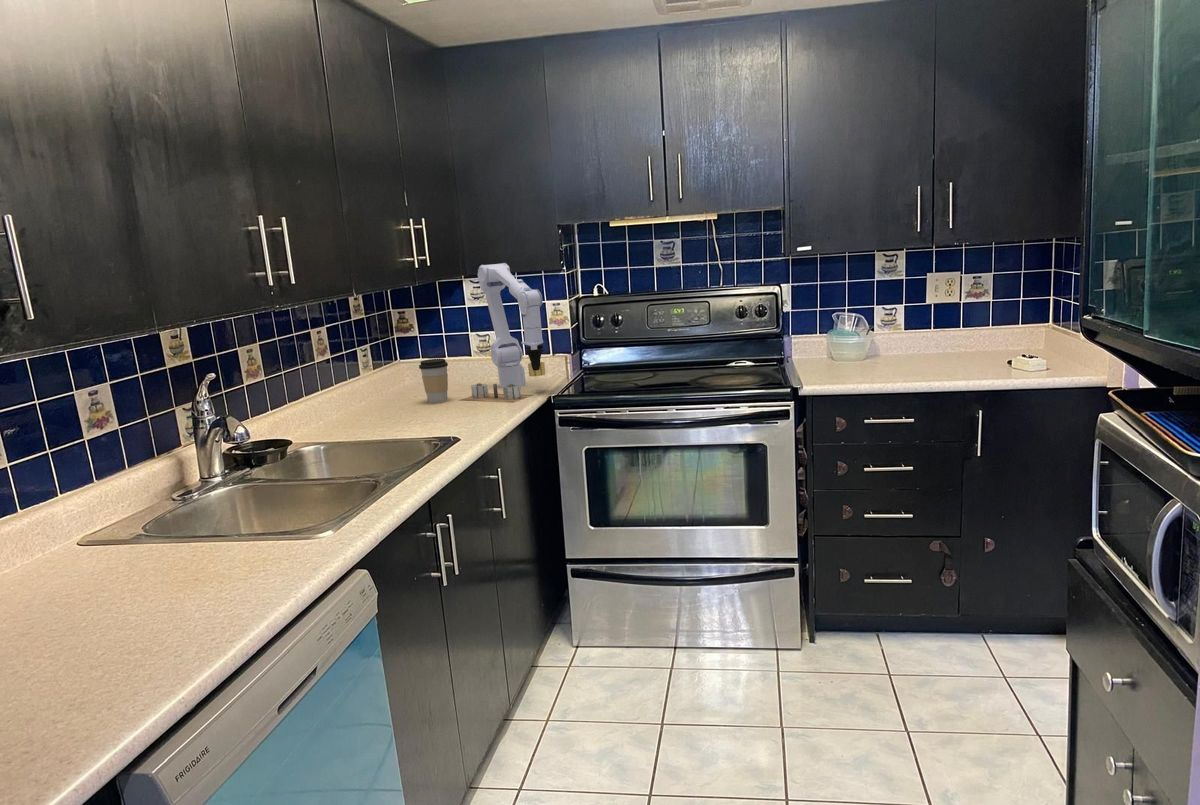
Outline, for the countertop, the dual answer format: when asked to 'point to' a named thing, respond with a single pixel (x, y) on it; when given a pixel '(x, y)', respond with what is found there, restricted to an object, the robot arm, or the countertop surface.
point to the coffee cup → (435, 379)
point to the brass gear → (537, 372)
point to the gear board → (495, 396)
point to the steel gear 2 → (511, 392)
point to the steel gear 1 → (479, 391)
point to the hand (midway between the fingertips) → (536, 368)
